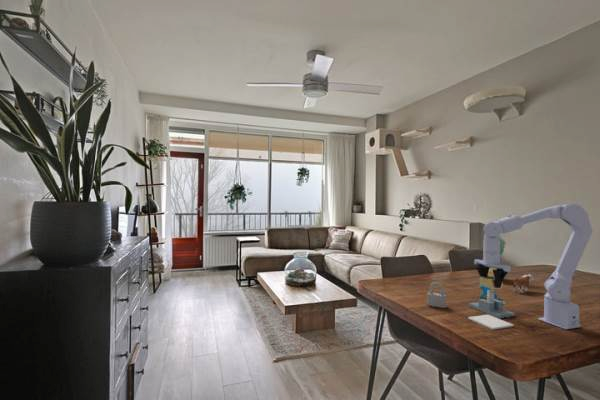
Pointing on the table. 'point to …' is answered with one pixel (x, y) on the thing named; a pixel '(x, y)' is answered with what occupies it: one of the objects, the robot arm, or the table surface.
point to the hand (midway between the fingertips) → (490, 285)
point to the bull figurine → (522, 282)
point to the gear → (484, 290)
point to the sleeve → (488, 282)
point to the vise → (491, 306)
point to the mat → (490, 322)
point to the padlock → (436, 297)
